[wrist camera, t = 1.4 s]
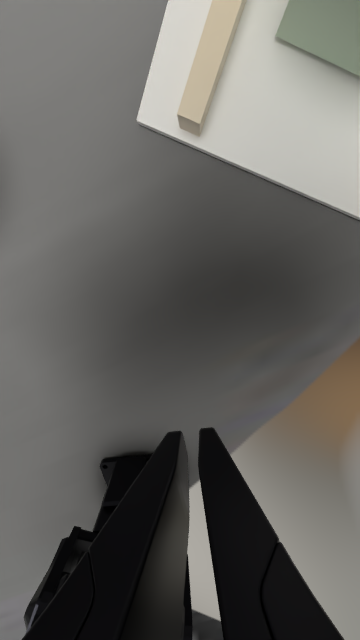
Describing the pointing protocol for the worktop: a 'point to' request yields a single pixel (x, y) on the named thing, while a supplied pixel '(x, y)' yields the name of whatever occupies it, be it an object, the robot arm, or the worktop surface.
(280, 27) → the green block with knob
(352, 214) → the base plate with rails
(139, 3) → the worktop surface
